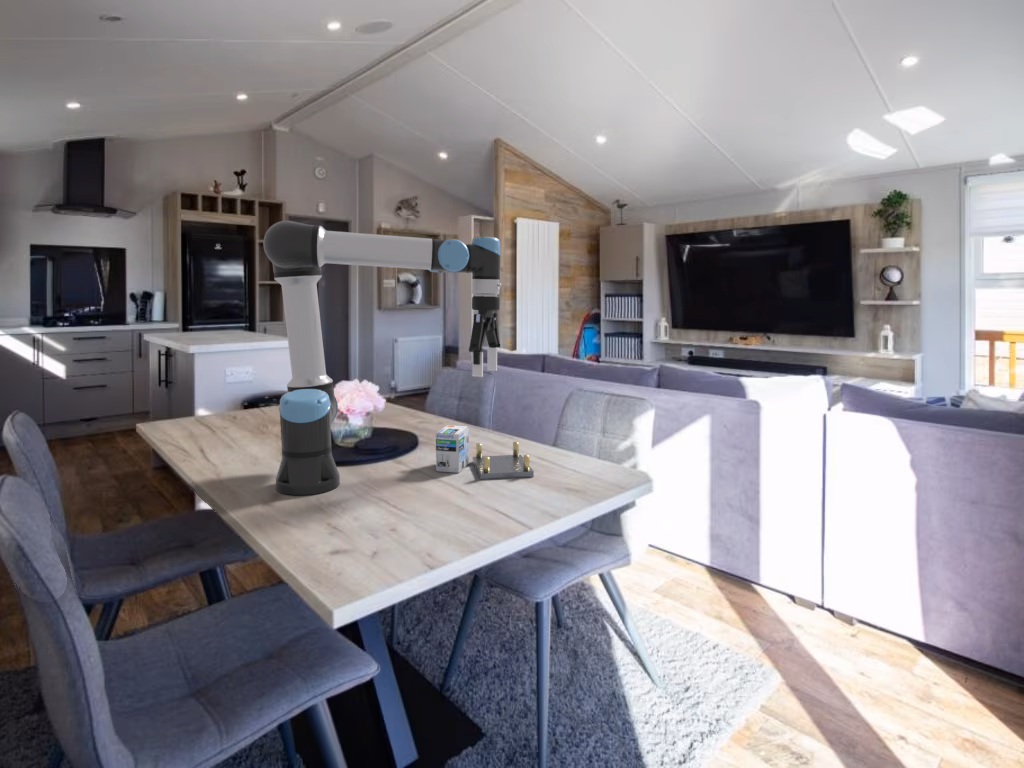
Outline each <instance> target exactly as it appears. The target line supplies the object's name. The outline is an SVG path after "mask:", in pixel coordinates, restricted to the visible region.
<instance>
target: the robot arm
mask: <svg viewBox="0 0 1024 768" xmlns="http://www.w3.org/2000/svg"><path fill="white" fill-rule="evenodd" d="M263 237H264V238H263V244H262V245H263V250H264V253H265V255H266V256H267V258H268V260H269V261H270V262H271V263H272V268H273V277H274V278H273V279H274V281H276V282H277V283H279V284H280V285H281V291H282V292H281V294H282V300H283V301H282V302H283V308H284V309H283V311H284V317H285V325H286V336H287V342H288V352H289V361H290V368H291V369H290V370H291V379H290V380H289V382H288V383H287V384H286V387H287V392H286V393H284V394H283V395H281V398H280V399H279V406H278V411H279V412H278V413H279V421H280V439H281V441H280V442H281V460H280V464H279V468H278V470H277V471H278V472H277V474H276V477H275V490H276V491H277V492H278V493H281V494H284V495H292V496H293V495H294V496H305V495H306V496H308V495H317V494H321V493H326V492H329V491H331V490H334V489H336V488H338V487H339V486H340V484H341V481H340V480H341V479H340V477H341V476H340V472H339V470H338V467H337V464H336V462H335V460H334V457H333V453H332V430H331V429H332V428H331V426H332V424H333V422H334V421H335V420H336V418H337V415H338V411H339V409H338V408H339V405H338V401H337V398H336V396H335V390H334V387H335V386H334V381H333V380H334V379H332V378H331V377H330V376H329V375H328V374H327V369H326V360H325V359H326V358H325V352H324V343H323V334H322V333H323V332H322V325H321V324H322V323H321V322H322V321H321V315H320V306H319V305H320V303H319V296H318V295H319V294H318V287H317V284H318V282H319V281H320V280H321V279H322V277H323V276H322V266H323V265H325V264H330V265H331V264H334V265H335V264H336V265H349V266H365V267H381V268H394V269H395V268H397V269H411V270H412V269H414V270H428V271H429V273H430V272H431V273H440V274H442V273H443V274H444V273H446V274H447V273H448V274H449V273H453V274H455V273H458V274H460V273H461V274H462V273H463V274H465V273H467V274H470V273H471V294H472V295H473V296H472V297H471V309H472V310H473V311H477V313H475V314H473V324H472V329H471V336H470V342H469V347H468V352H469V353H471V354H472V357H471V359H472V362H471V363H472V364H471V365H472V367H471V371H472V373H471V375H472V377H478V378H483V377H484V352H483V347H484V343H485V338H486V341H487V345H488V347H487V349H486V351H487V354H486V355H487V358H486V359H487V361H486V362H487V363H486V365H487V366H486V370H487V371H490V372H491V371H493V372H494V371H495V372H497V371H498V348H501V343H500V335H499V327H498V314H497V312H494V311H499V310H500V305H501V303H500V302H501V301H500V296H498V295H499V294H500V288H501V287H503V286H502V283H501V282H500V279H501V275H500V274H501V255H502V254H501V243H500V242H501V241H500V239H499V238H497V237H493V236H474V237H473V238H472V239H471V240H472V241H471V243H470V244H469V243H468V244H467V243H466V244H465V243H464V242H463V241H462V240H459V239H455V238H449V239H441V238H439V239H438V238H437V239H436V238H435V239H434V238H428V237H427V238H425V237H416V236H415V237H412V236H402V235H399V236H398V235H388V234H386V235H385V234H374V233H364V232H363V233H361V232H360V233H359V232H358V233H357V232H349V231H348V232H347V231H335V230H334V231H333V230H326V229H325V228H324V227H323V226H322V225H317V224H316V225H313V224H307V223H301V222H297V221H292V220H281V221H278V222H276V223H273V224H272V225H271V226H270V227H269V228H267V230H266V232H265V234H264V236H263Z"/></svg>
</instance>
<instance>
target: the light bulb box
mask: <svg viewBox="0 0 1024 768" xmlns="http://www.w3.org/2000/svg"><path fill="white" fill-rule="evenodd" d="M469 464H470V426H465V425H463V426H462V425H451V424H447V425H445V426H444V427H442V428H441V429H440V430H438V431H437V432H436V433H435V467H436V472H439V473H441V472H443V473H457V474H459V473H461V472H462V471H463V470H464V469H465V468H466V467H467V466H468V465H469Z"/></svg>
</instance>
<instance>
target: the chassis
mask: <svg viewBox="0 0 1024 768" xmlns="http://www.w3.org/2000/svg"><path fill="white" fill-rule="evenodd" d="M519 445H520V443H519V441H513V442H512V454H507V455H505V454H504V455H503V454H502V455H483V443H482V442H477V443H476V445H475V447H476V448H475V450H476V453H475V454H476V455H475V456H472V464H473V466H474V468H475V471H476V472H477V474H478V476H479V479H480V480H494V479H495V480H497V479H516V478H517V479H518V478H534V470H533V468H532V466H531V465H530V458H531V457H530V454H523V456H522V455H521V454H519V452H520V451H519V450H520V448H519V447H520V446H519Z"/></svg>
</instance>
